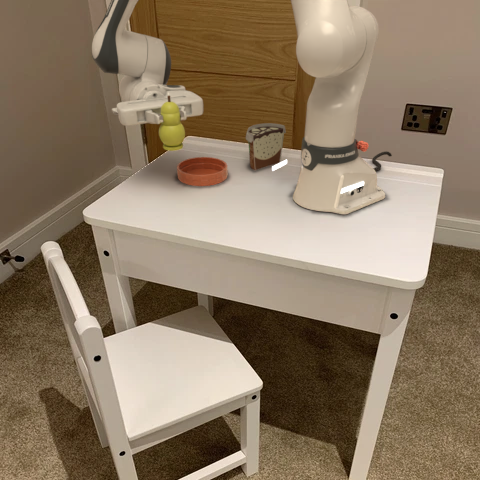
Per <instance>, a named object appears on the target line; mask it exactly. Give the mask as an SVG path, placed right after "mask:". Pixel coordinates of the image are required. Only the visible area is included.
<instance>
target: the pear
mask: <svg viewBox="0 0 480 480" xmlns="http://www.w3.org/2000/svg"><path fill="white" fill-rule="evenodd" d="M161 115H163V121H164V123H161V124H159V128H158V136H159V137H158V138H159V140H160V141H161V142H162V143H163V144H162V148H163V150H165V151H168V152H174V151H179V150H182V149H184V144H183V143H184V140H185V137H186V130H185V127H184V125H183V124H182V122H181V121H180V111H179V107H178V105H177V104H176V103H174V102H172V101H171V99H170V96H168V102H165V103H164V104H163V105H162V107H161Z"/></svg>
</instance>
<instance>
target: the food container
mask: <svg viewBox="0 0 480 480" xmlns="http://www.w3.org/2000/svg"><path fill="white" fill-rule="evenodd" d="M286 133H287V131H286V126H285V125H283V124H280V123H272V122H271V123H269V122H268V123H267V122H265V123H257V124H252V125H251V126H249V127H248V128H247V130H246V134H245V140H246V141H247V142H248V143H247V144H248V155H249V156H248V157H249V165H250V166H249V167H250V169H251V170H253V171H255V172H256V171H258V170H261V169H264V168H268V167H273V166H275V165H277V164H279V163H280V162H282V160H281V159H282V153H283V144H284V137H285V136H284V135H285V134H286Z"/></svg>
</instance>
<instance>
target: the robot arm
mask: <svg viewBox="0 0 480 480" xmlns="http://www.w3.org/2000/svg"><path fill="white" fill-rule="evenodd" d="M138 2H139V0H110V2H109V4H108V6H107V10H106V12H105V14H104V16H103V18H102V21H101V22H100V23H99V25H98V27H97V29H96V31H95V33H94V35H93V39H92V43H91V58H92V59H93V61H94V63H95V64H96V66H97V67H98V68H99V69H100V70H101V71H102V72H103V73H105V74H113V75H123V77H122V78H121V79H120V82H119V84H118V93H119V96H120V99H121V100H122V101H120V102H118V103H116V106H115V107H112V108H111V112H112V114H113V115H116V116H117V117H118V121H119V123H120V124H121V125H122V126H124V127H130V126H138V125H145V124H151V125H161V124H162V123H164V121H163V115H161V107H162V105H163V104H164V103H165V102H168V96H170V99H171V101H172V102H174V103H176V104H177V105H178V107H179V111H180V122H181V121H186V120H187V119H188V118H191V117H199V116H202V115H203V114H204V100H203V98H202V97H201V96H199V94H197V93H194V92H193V91H190V90H186V87H185V86H184V85H178V84H177V85H176V84H175V85H174V84H173V85H172V84H168V82H169V79H170V75H171V71H172V57H171V54H170V51H169V49H168V46H167V45H166V43H165V41H164V40H163V39H161V38H158V37H155V36H151V35H147V34H142V33H138V32H134V31H131V30H127V29H126V27H127V24H128V22H129V20H130V18H131V15H132V13H133V11H134V9H135V6H136V5H137V3H138ZM290 4H291V8H292V13H293V18H294V23H295V29H296V36H297V40H296V45H295V46H296V47H295V54H296V59H297V62H298V65H299V66H300V67H301V69H302V70H303V71H304V72H305V73H306V74H307V75H309V76H310V77H314V78H315V79H314V83H313V86H312V89H311V92H310V94H309V96H308V99H307V101H306V102H307V103H306V113H305V127H304V136H303V137H302V139H301V148H300V149H301V150H300V164H301V165H300V170H299V175H298V178H297V179H298V180H297V183H296V185H295V188H294V189H295V190H294V192H293V194H292V200H293V201H294V202H295V204H297V205H298V206H300V207H302V208H304V209H307V210H311V211H316V212H325V213H326V212H327V213H334V214H338V215H348V214H351V213H354V212H356V211H358V210H361V209H362V208H366V207H368V206H369V205H373V204H374V203H377V202H381V201H382V200H384V199H385V198H386V193H385V191H384V190H383V189H382V188H381V187H380V186H379V185H378V175H377V171H379V170H380V169H382V164H381V163H380V162H379V161H378V158H379V157H383V156H385V155H387V156H388V157H392V156H393V154H392V153H391V152H390V151H387V150H386V151H382V152H380V153H377V154H376V155H374V156H373V157H372V160H371V161H372V163H373V164H374V165H376V167H373V166H372V165H371V164H369V163H368V162H367V161H366V160H365V159H363V158H362V157H361V156H360V154H359V151H361V152H364V153H365V152H367V151H368V149H369V147H370V146H369V145H370V144H369V142H366V141H364V140H359V141H358V139H356V138H355V137H356V131H357V125H358V116H359V108H360V104H361V100H362V96H363V93H364V89H365V86H366V82H367V79H368V74H369V71H370V68H371V63H372V60H373V59H372V58H373V55H374V51H375V48H376V45H377V43H378V40H379V36H380V27H379V22H378V20H377V18H376V16H375V15H374V14H373V13H372V12H371V11H370V10H368V9H367V8H365V7H362V6H359V5H350V4H349V1H348V0H290ZM287 164H288V159H285V160H283V161H282V160H281V161H280V163H279V164H276V165H273V166H271V171H272V172H274V171H276V170H278V169H280V168H282V167H284V166H285V165H287Z"/></svg>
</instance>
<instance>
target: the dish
mask: <svg viewBox="0 0 480 480" xmlns="http://www.w3.org/2000/svg"><path fill="white" fill-rule="evenodd" d="M228 171H229V169H228V164H227V162H226V161H224V159H223V160H222V159H221V158H218V157H212V156H196V157H189V158H186V159H183V160H182V161H180V162H178V163H177V164H176V175H177V180H178V181H179V182H180V183H182V184H184V185H189V186H194V187H210V186H214V185H218V184H220V183H223V182H225V181H226V180H227V179H228V175H229V173H228Z"/></svg>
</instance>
